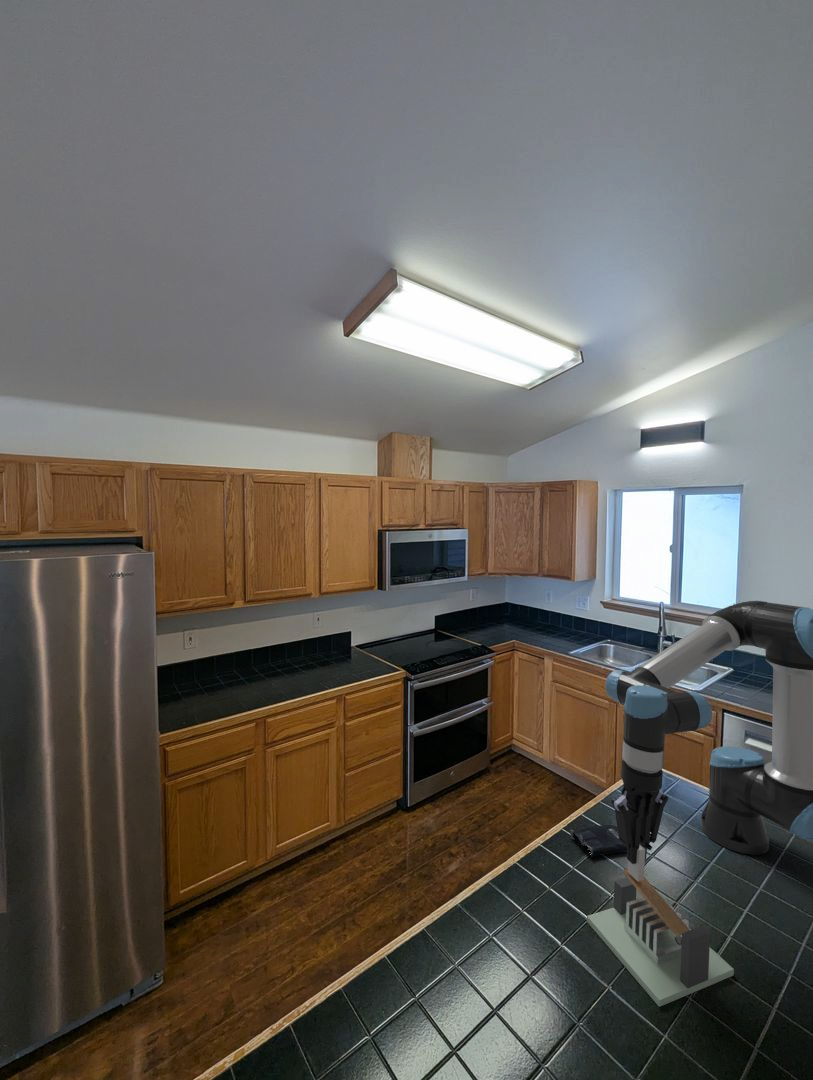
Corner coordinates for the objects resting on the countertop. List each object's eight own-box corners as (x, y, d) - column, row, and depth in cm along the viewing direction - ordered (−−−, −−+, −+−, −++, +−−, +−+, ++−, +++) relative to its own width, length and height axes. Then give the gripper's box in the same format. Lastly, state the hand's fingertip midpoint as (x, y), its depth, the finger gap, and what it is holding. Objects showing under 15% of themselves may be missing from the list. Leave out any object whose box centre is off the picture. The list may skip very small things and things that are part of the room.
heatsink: (654, 919, 96) (655, 891, 96) (689, 953, 89) (690, 923, 88) (624, 929, 94) (625, 901, 93) (657, 965, 86) (658, 934, 86)
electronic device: (594, 869, 114) (643, 850, 118) (590, 846, 114) (639, 827, 118) (571, 849, 123) (617, 831, 127) (567, 827, 123) (613, 810, 127)
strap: (636, 869, 98) (637, 864, 98) (697, 940, 85) (699, 935, 85) (620, 874, 97) (621, 869, 97) (679, 946, 84) (681, 941, 83)
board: (653, 900, 103) (654, 856, 102) (733, 975, 86) (735, 923, 85) (586, 921, 97) (588, 875, 96) (659, 1006, 80) (661, 951, 79)
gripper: (651, 751, 100) (645, 856, 101) (602, 759, 96) (596, 869, 97) (682, 769, 93) (675, 882, 94) (631, 778, 89) (624, 897, 90)
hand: (635, 875), depth 95 cm, fingers closed
